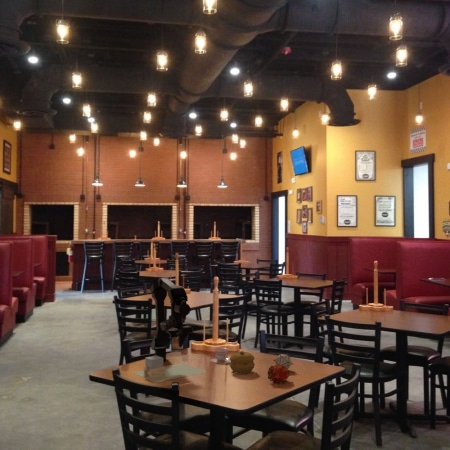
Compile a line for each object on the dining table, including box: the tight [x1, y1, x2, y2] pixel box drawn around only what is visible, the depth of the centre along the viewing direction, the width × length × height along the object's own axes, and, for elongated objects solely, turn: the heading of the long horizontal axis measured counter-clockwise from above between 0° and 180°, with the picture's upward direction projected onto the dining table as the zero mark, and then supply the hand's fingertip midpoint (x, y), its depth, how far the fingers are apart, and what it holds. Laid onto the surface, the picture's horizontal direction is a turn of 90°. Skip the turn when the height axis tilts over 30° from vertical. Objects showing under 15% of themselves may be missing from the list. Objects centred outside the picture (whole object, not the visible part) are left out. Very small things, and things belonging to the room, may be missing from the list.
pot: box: [229, 350, 256, 375], centre depth 245 cm, size 12×12×10 cm
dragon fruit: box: [267, 364, 290, 384], centre depth 228 cm, size 8×8×12 cm
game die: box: [273, 352, 294, 369], centre depth 247 cm, size 9×8×10 cm
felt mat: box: [131, 362, 207, 383], centre depth 246 cm, size 22×28×1 cm
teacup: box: [209, 347, 231, 365], centre depth 267 cm, size 12×12×6 cm
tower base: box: [143, 365, 166, 378], centre depth 241 cm, size 7×7×4 cm
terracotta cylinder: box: [171, 337, 184, 350], centre depth 249 cm, size 5×5×5 cm
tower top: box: [144, 355, 164, 369], centre depth 241 cm, size 6×6×4 cm
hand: (177, 346), depth 249 cm, fingers closed on terracotta cylinder, 5 cm apart
